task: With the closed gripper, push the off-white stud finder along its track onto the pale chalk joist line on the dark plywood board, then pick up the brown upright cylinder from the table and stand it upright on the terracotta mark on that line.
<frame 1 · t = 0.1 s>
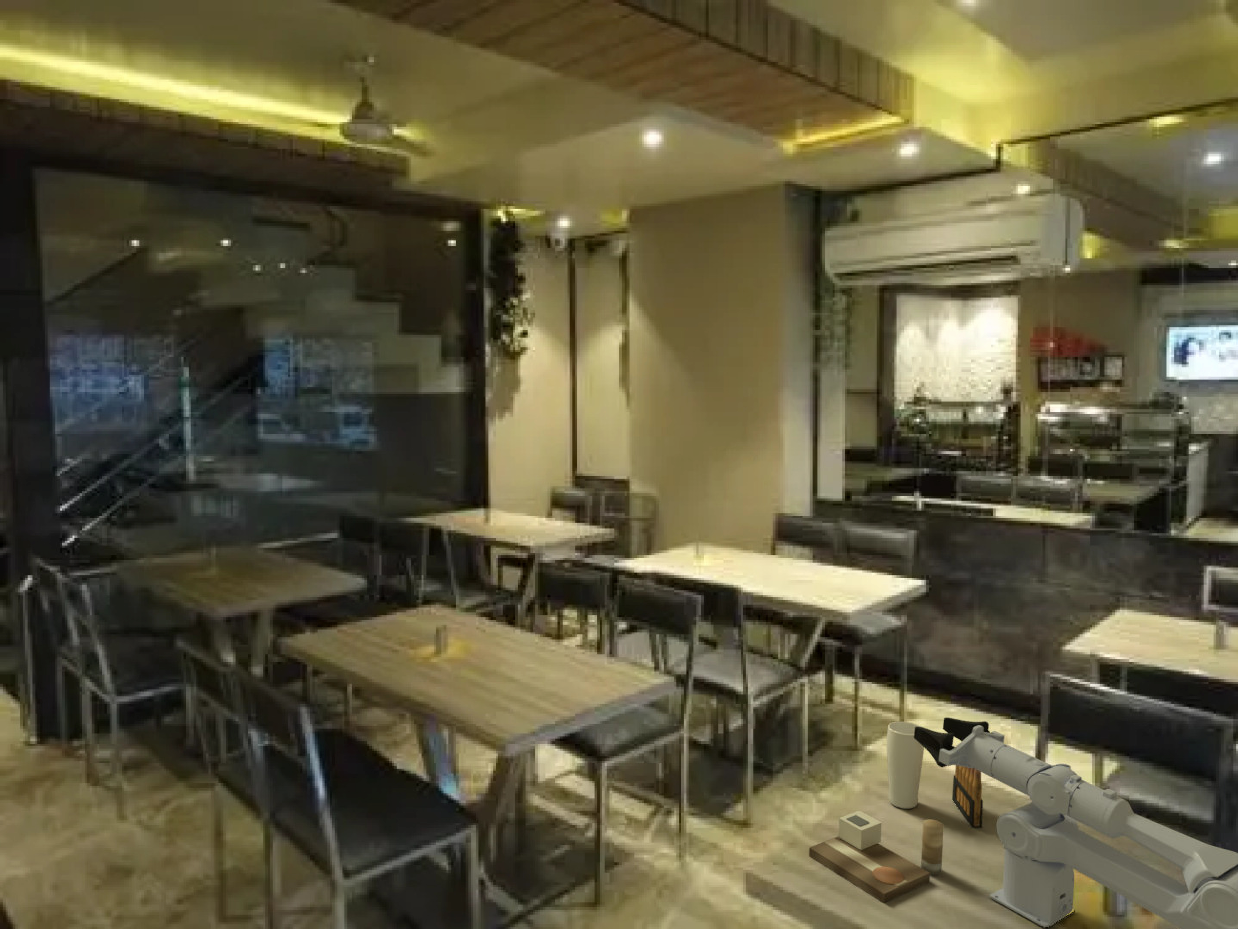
hand: (930, 727, 151), 22 cm above the table, tool horizontal, fingers open, 7 cm apart
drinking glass: (902, 804, 170), on the table
brown upright cylinder: (931, 870, 146), on the table
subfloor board: (867, 868, 147), on the table
ammunition clip: (966, 814, 166), on the table
stud finder: (859, 829, 152), point 4 cm above the table, slide at -4.5 cm
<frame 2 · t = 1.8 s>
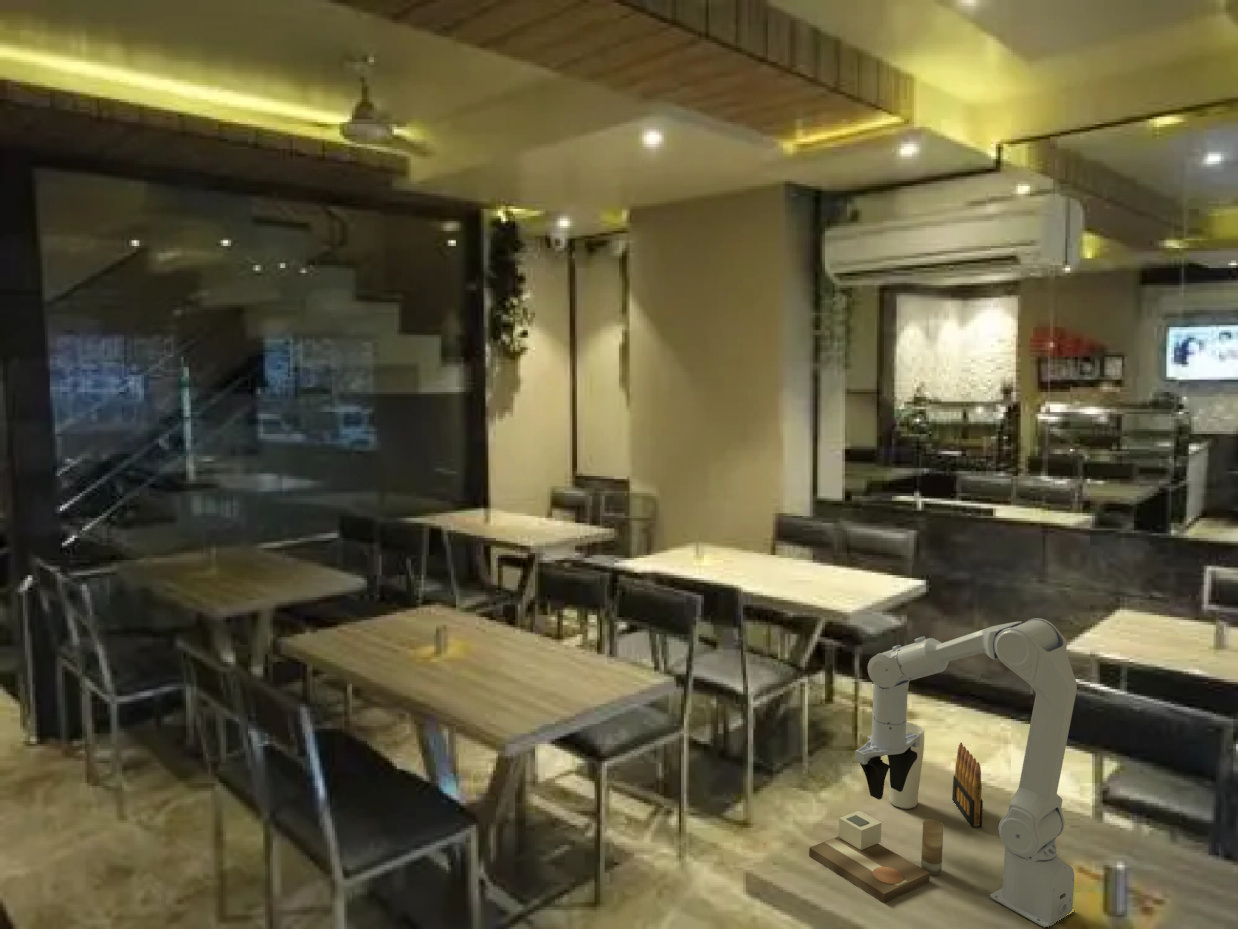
hand: (886, 793, 156), 8 cm above the table, tool pointing down, fingers open, 5 cm apart
nothing on the table moved.
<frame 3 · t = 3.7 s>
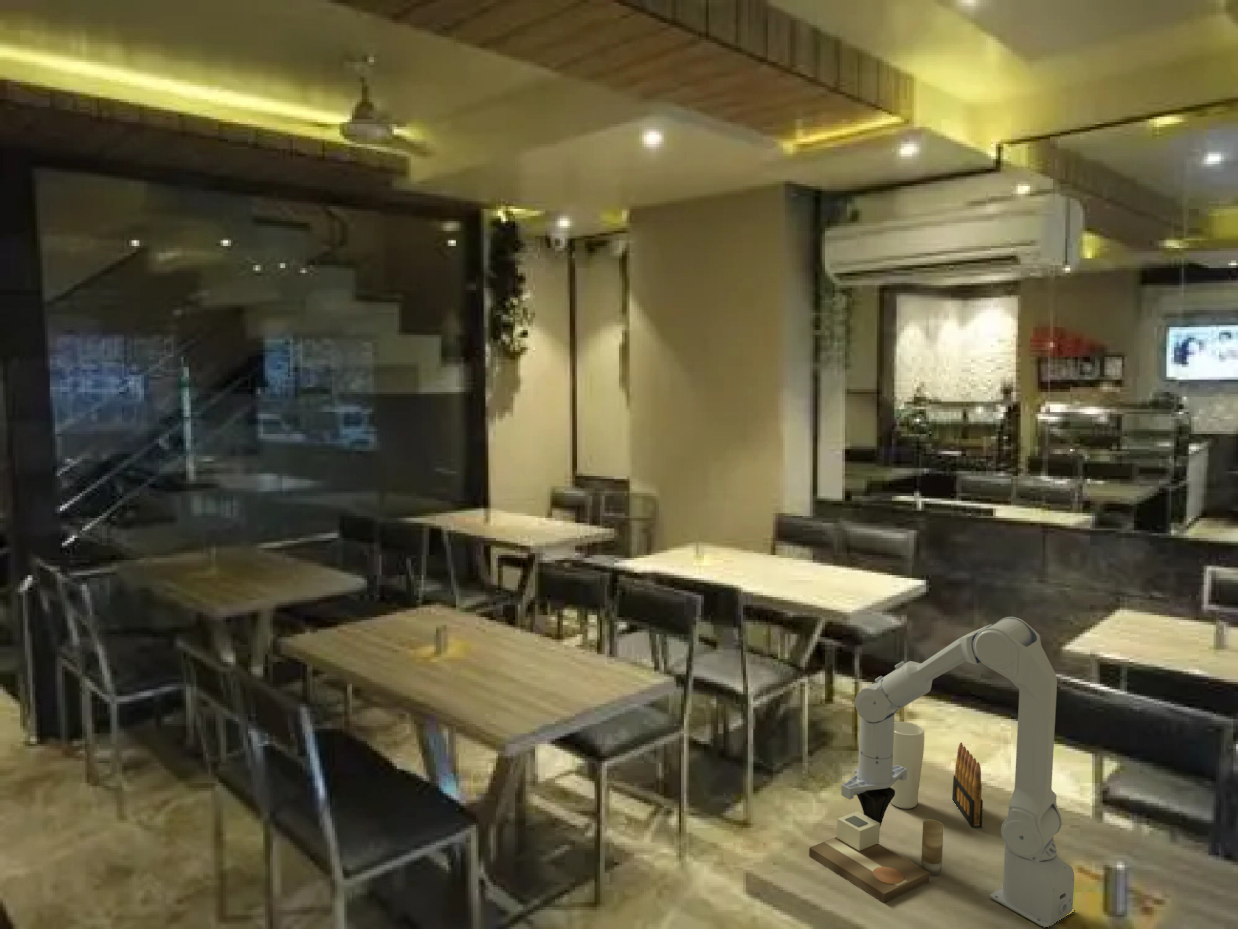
hand: (873, 827, 154), 3 cm above the table, tool pointing down, fingers closed
stud finder: (858, 830, 152), point 4 cm above the table, slide at -4.1 cm, touching gripper
everything else where it was.
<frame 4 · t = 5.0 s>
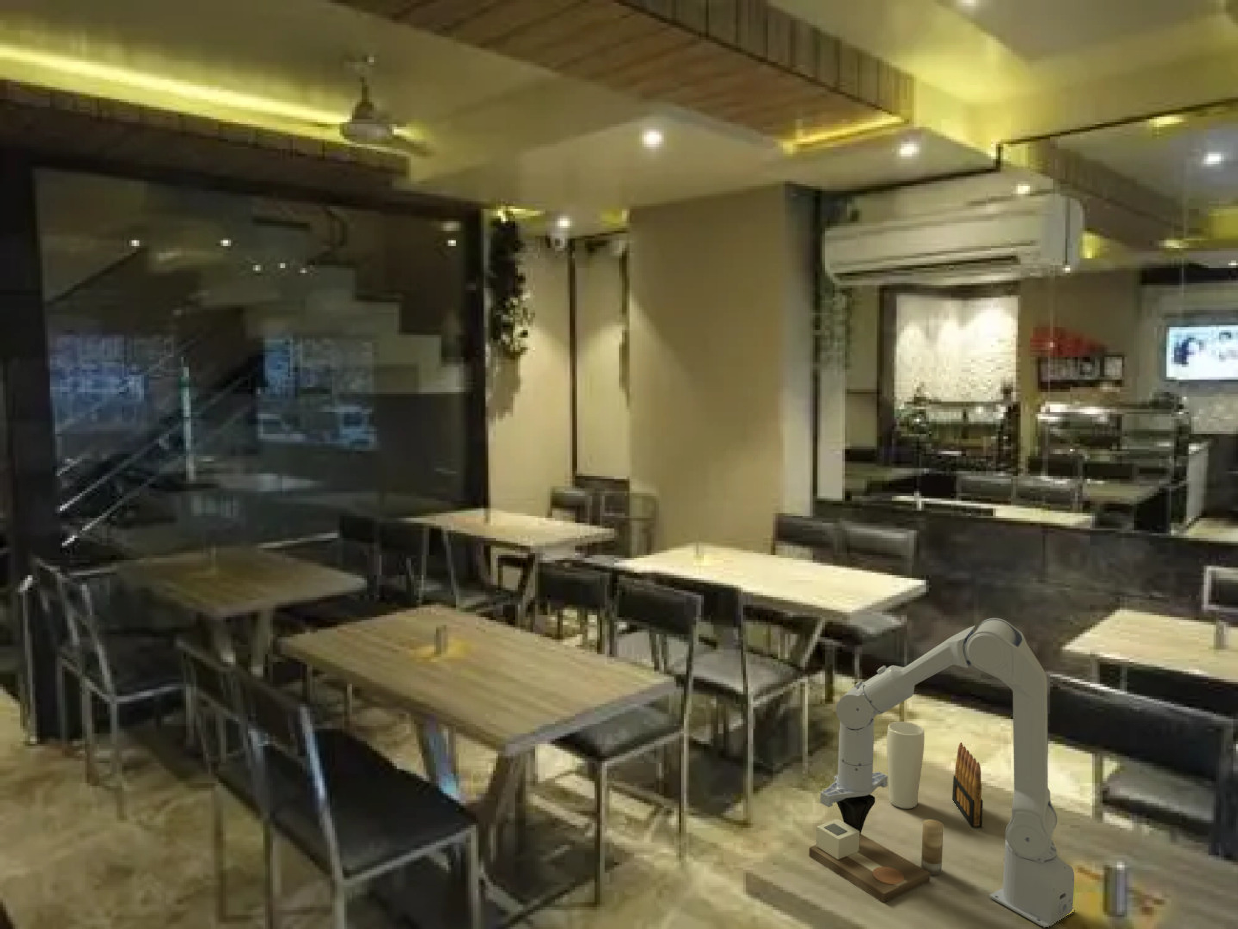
hand: (852, 835, 152), 3 cm above the table, tool pointing down, fingers closed
stud finder: (837, 838, 149), point 4 cm above the table, slide at 1.0 cm, touching gripper
everything else where it was.
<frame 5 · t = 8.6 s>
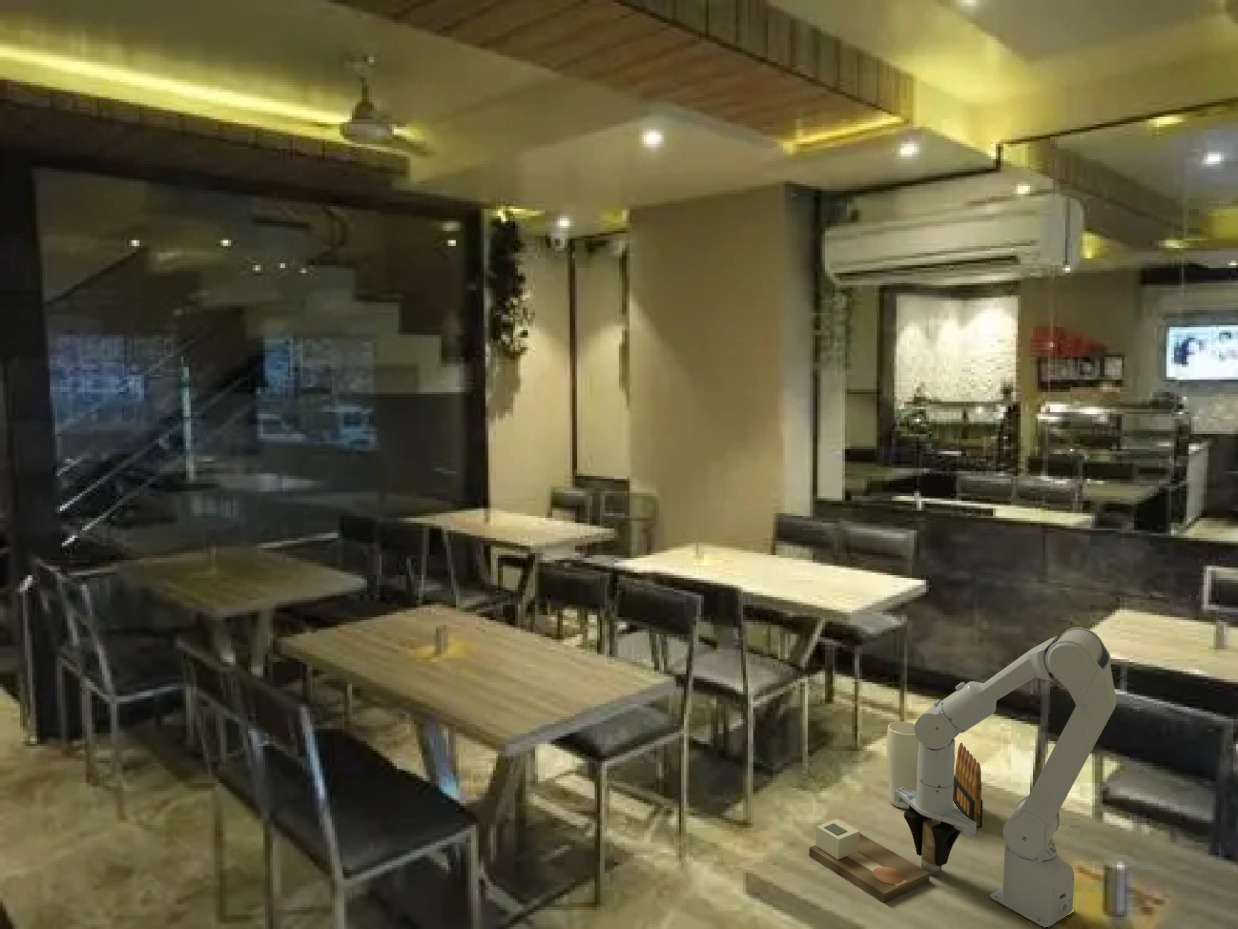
hand: (931, 858, 146), 2 cm above the table, tool pointing down, fingers closed on brown upright cylinder, 3 cm apart
brown upright cylinder: (931, 870, 146), on the table, touching gripper
stud finder: (837, 838, 149), point 4 cm above the table, slide at 1.0 cm
everything else where it was.
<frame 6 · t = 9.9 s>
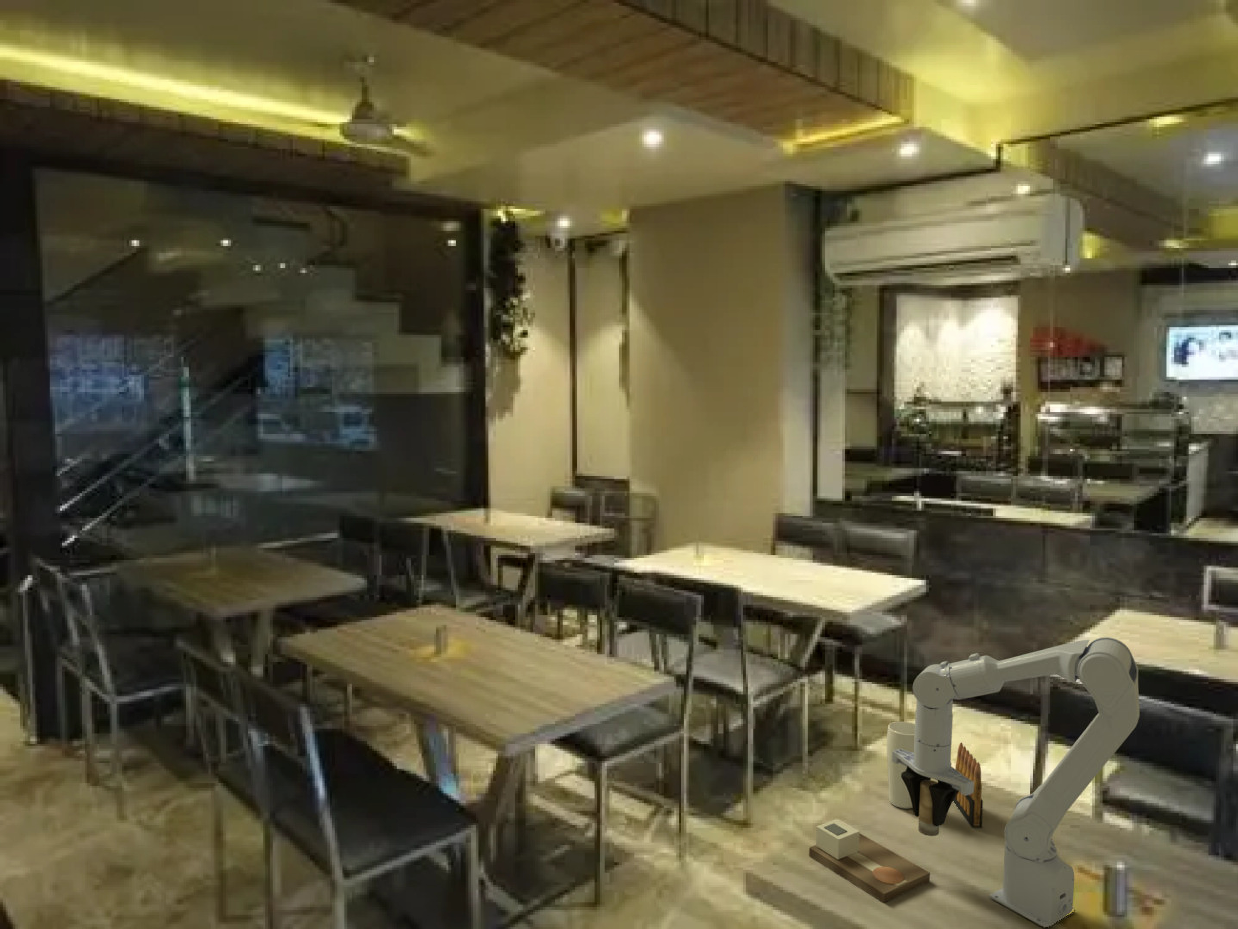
hand: (929, 819, 145), 9 cm above the table, tool pointing down, fingers closed on brown upright cylinder, 3 cm apart
brown upright cylinder: (928, 831, 145), point 7 cm above the table, touching gripper
everything else where it was.
when the fingers open (5 cm above the table, at t = 11.5 s): brown upright cylinder drops 1 cm, resting on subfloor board.
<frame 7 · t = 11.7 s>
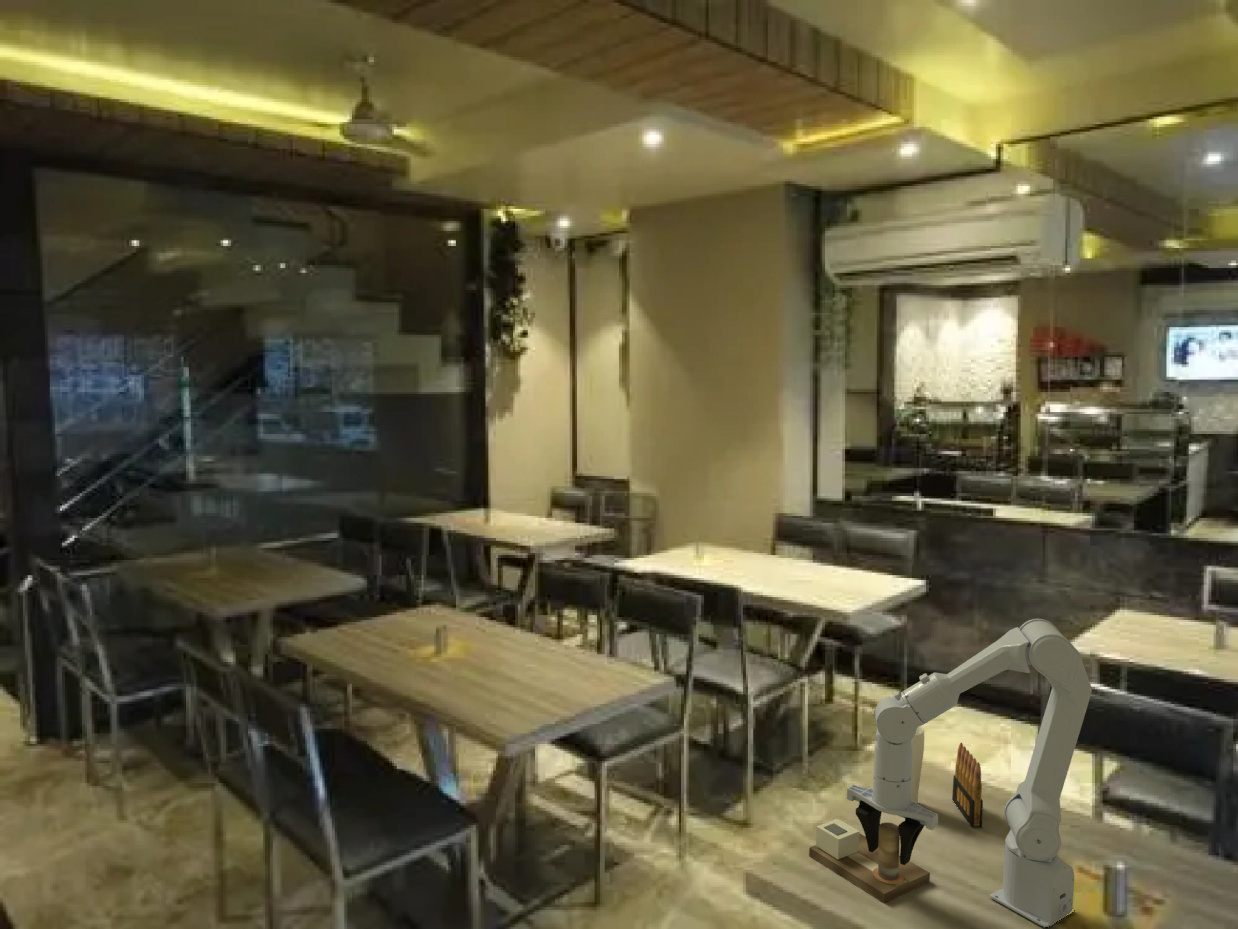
hand: (889, 855, 142), 5 cm above the table, tool pointing down, fingers open, 5 cm apart
brown upright cylinder: (888, 874, 142), point 2 cm above the table, touching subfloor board
everything else where it was.
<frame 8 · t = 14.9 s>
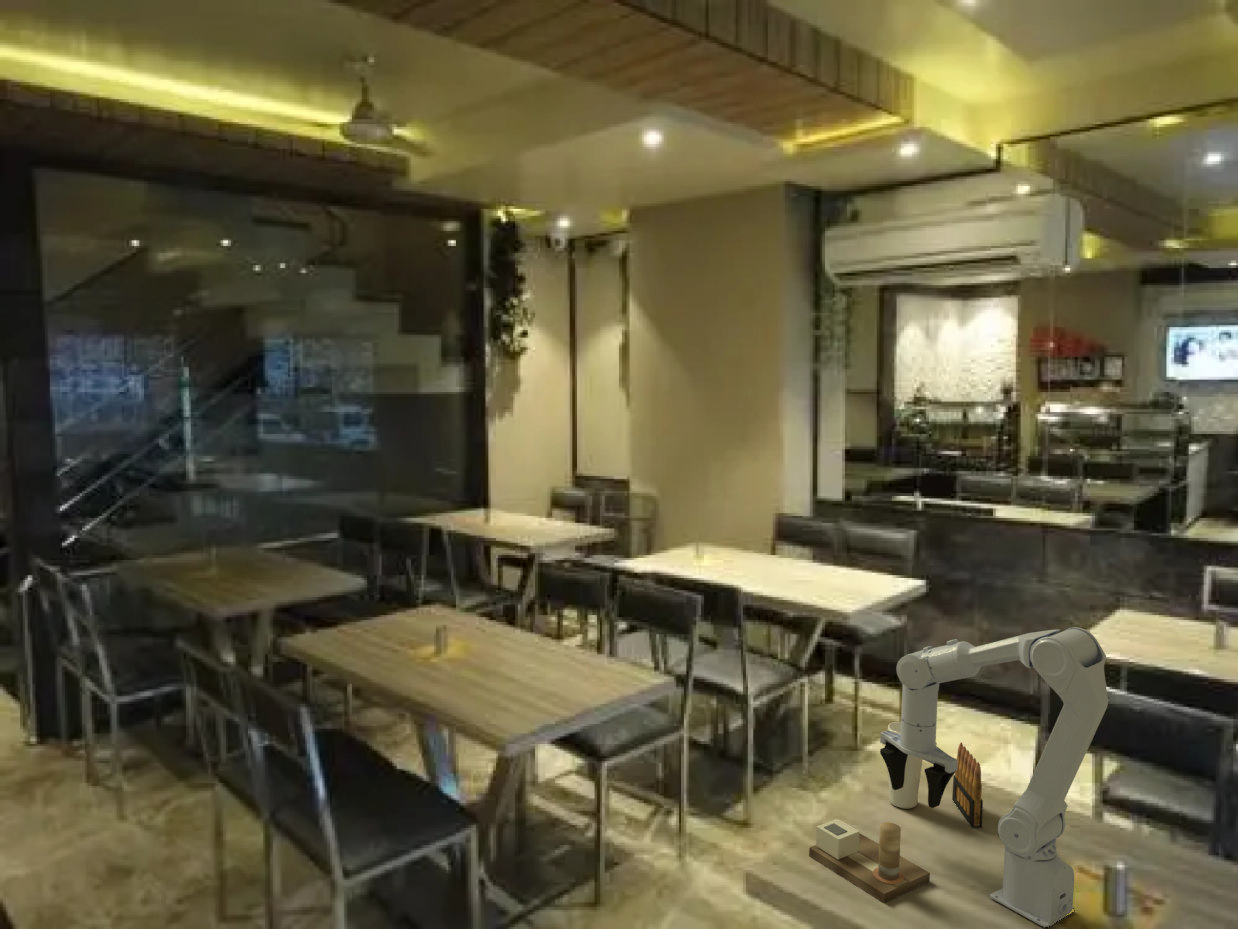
hand: (915, 797, 152), 9 cm above the table, tool pointing down, fingers open, 7 cm apart
nothing on the table moved.
at the end: stud finder slide at 1.0 cm; brown upright cylinder 0.0 cm from the target spot, point 1.7 cm above the table; brown upright cylinder tilted 0° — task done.
